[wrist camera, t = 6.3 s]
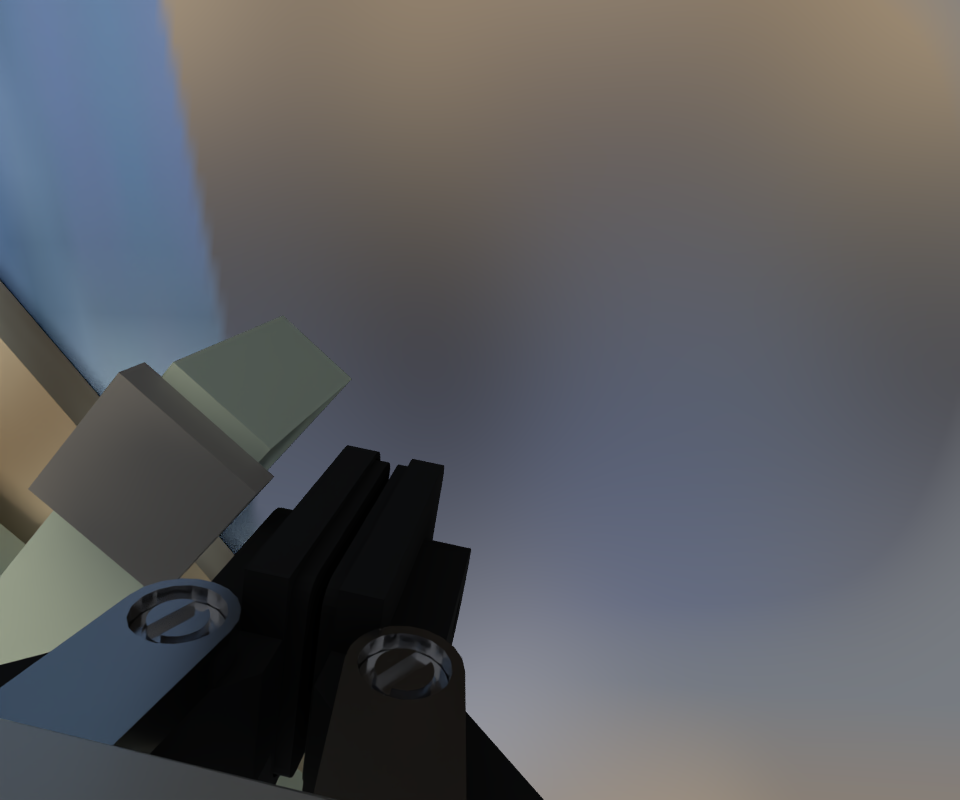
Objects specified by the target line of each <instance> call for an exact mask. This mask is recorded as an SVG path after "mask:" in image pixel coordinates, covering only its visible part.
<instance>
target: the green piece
mask: <svg viewBox="0 0 960 800" xmlns="http://www.w3.org/2000/svg"><path fill="white" fill-rule="evenodd" d="M350 380H351V378H350V377H349V376H348V375H347V374H346V373H345V372H344V371H343V370H341V369H340V368H339V367H338V366H337V365H336V364H335V363H334V362H333V361H332V360H331V359H330V358H328V357H327V356H326V355H325V354H324V353H323V352H322V351H321V350H320V349H319V348H318V347H316V346H315V345H314V344H313V343H312V342H311V341H310V340H309V339H308V338H307V337H306V336H304V335H303V334H302V333H301V332H300V331H299V330H298V329H297V328H296V327H295V326H294V325H293V324H292V323H290V322H289V321H288V320H287V319H286V318H285V317H284V316H281V317H278V318H276V319H274V320H272V321H269V322H267V323H264V324H262V325H260V326H257V327H255V328H253V329H250V330H248V331H245V332H243V333H241V334H238V335H236V336H234V337H231V338H229V339H227V340H224V341H222V342H219V343H217V344H215V345H212V346H210V347H208V348H205V349H203V350H201V351H198V352H196V353H194V354H191V355H189V356H187V357H184V358H182V359H179V360H177V361H175V362H173V363H172V364H171V366H170V367H169V368H168V369H167V371H166V372H165V373H164V374H163V375H162V377H161V376H160V375H159V374H158V373H156V372H155V371H154V370H153V369H152V368H151V367H150V366H149V365H147V364H146V363H145V362H144V363H142V364H139V365H137V366H134V367H131V368H129V369H126V370H124V371H121V372H119V373H118V374H117V376H116V377H115V378H114V379H113V381H112V382H111V383H110V384H109V386H108V387H107V388H106V390H105V391H104V392H103V393H102V395H101V396H100V397H99V399H98V400H97V401H96V402H95V404H94V405H93V406H92V408H91V409H90V410H89V411H88V413H87V414H86V415H85V416H84V418H83V419H82V420H81V422H80V423H79V424H78V425H77V427H76V428H75V429H74V431H73V432H72V433H71V434H70V436H69V437H68V438H67V439H66V441H65V442H64V443H63V445H62V446H61V447H60V448H59V450H58V451H57V452H56V454H55V455H54V456H53V457H52V459H51V460H50V461H49V463H48V464H47V465H46V466H45V468H44V469H43V470H42V471H41V473H40V474H39V475H38V477H37V478H36V479H35V480H34V482H33V483H32V484H31V486H30V487H29V488H28V490H30V491H31V492H32V493H33V494H34V495H36V496H37V497H38V498H39V499H40V500H42V501H43V502H44V503H45V504H46V505H48V506H49V507H50V508H51V509H52V510H53V512H52V513H51V514H50V515H49V517H48V518H47V519H46V520H45V521H44V523H43V524H42V525H41V526H40V528H39V529H38V530H37V531H36V533H35V534H34V535H33V536H32V538H31V539H30V540H29V541H28V542H27V544H24V543H23V542H22V541H21V540H20V539H18V538H17V537H16V536H15V535H14V534H12V533H11V532H10V531H9V530H8V529H6V528H5V527H4V526H3V525H1V524H0V665H2V664H5V663H9V662H13V661H17V660H21V659H25V658H29V657H33V656H37V655H40V654H44V653H48V652H50V651H52V650H53V649H55V648H56V647H57V646H59V645H60V644H62V643H63V642H64V641H66V640H67V639H68V638H70V637H71V636H73V635H74V634H75V633H77V632H78V631H80V630H81V629H82V628H84V627H85V626H86V625H88V624H89V623H91V622H92V621H93V620H95V619H96V618H98V617H99V616H100V615H102V614H103V613H104V612H106V611H107V610H109V609H110V608H111V607H113V606H114V605H116V604H117V603H118V602H120V601H121V600H123V599H124V598H125V597H127V596H128V595H130V594H132V593H133V592H135V591H137V590H139V589H141V588H142V587H144V586H148V585H151V584H154V583H157V582H160V581H165V580H173V579H180V578H181V576H182V575H183V574H184V573H185V572H186V571H187V570H188V569H189V568H190V567H191V566H192V565H193V564H194V562H195V561H196V560H197V559H198V558H199V557H200V556H201V555H202V554H203V553H204V552H205V551H206V550H207V548H208V547H209V546H210V545H211V544H212V543H213V542H214V541H215V540H216V539H217V538H218V537H219V536H220V534H221V533H222V532H223V531H224V530H225V529H226V528H227V527H228V526H229V525H230V524H231V523H232V522H233V520H234V519H235V518H236V517H237V516H238V515H239V514H240V513H241V512H242V511H243V510H244V509H245V507H246V506H247V505H248V504H249V503H250V502H251V501H252V500H253V499H254V498H255V497H256V496H257V495H258V493H259V492H260V491H261V490H262V489H263V488H264V487H265V486H266V485H267V484H268V483H269V481H271V479H272V478H273V477H274V476H273V475H272V474H271V473H269V472H268V469H269V468H270V467H271V466H272V465H273V464H274V463H275V462H276V461H277V460H278V459H279V457H280V456H281V455H282V454H283V453H284V452H285V451H286V450H287V449H288V448H289V447H290V446H291V444H292V443H293V442H294V441H295V440H296V439H297V438H298V437H299V435H301V433H302V432H303V431H304V430H305V429H306V428H307V427H308V426H309V425H310V424H311V423H312V422H313V421H314V419H315V418H316V417H317V416H318V415H319V414H320V413H321V412H322V411H323V410H324V409H325V407H326V406H327V405H328V404H329V403H330V402H331V401H332V400H333V399H334V398H335V397H336V396H337V394H338V393H339V392H340V391H341V390H342V389H343V388H344V387H345V386H346V385H347V384H348V382H349V381H350ZM276 785H279V786H283V787H287V788H291V789H295V790H299V791H302V787H303V780H302V772H301V771H299V770H298V769H297V770H296V772H295V774H294V776H293V777H292V778H288V777H284V776H280V777H279V779H278V781H277V783H276Z"/></svg>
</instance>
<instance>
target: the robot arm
mask: <svg viewBox="0 0 960 800" xmlns="http://www.w3.org/2000/svg"><path fill="white" fill-rule="evenodd" d="M389 473H390V463H388V462H384V461H380V452H377V451H372V450H367V449H363V448H358V447H353V446H348V445H347V446H346V447H345V448H344V449H343V450H342V452H341V453H340V454H339V455H338V457H337V458H336V459H335V460H334V462H333V463H332V464H331V465H330V466H329V467H328V469H327V470H326V471H325V472H324V473H323V475H322V476H321V477H320V478H319V480H318V481H317V482H316V483H315V484H314V485H313V487H312V488H311V489H310V490H309V492H308V493H307V494H306V495H305V496H304V497H303V499H302V500H301V501H300V502H299V504H298V505H297V506H296V507H295V508H294V510H290V509H285V508H277V509H276V510H274V511H273V512H272V513H271V515H270V516H269V517H268V518H267V519H266V520H265V521H264V522H263V524H262V525H261V526H260V527H259V528H258V529H257V530H256V531H255V533H254V534H253V535H252V536H251V537H250V538H249V539H248V540H247V542H246V543H245V544H244V545H243V546H242V547H241V548H240V549H239V551H238V552H237V553H236V554H235V555H234V556H233V557H232V559H231V560H230V561H229V562H228V563H227V564H226V565H225V566H224V568H223V569H222V570H221V571H220V572H219V573H218V574H217V575H216V577H215V578H214V579H213V580H212V581H211V582H210V581H206V580H201V579H184V578H180V579H173V580H165V581H160V582H157V583H154V584H151V585H148V586H144V587H142V588H141V589H139V590H137V591H135V592H133V593H132V594H130V595H128V596H127V597H125V598H124V599H123V600H121V601H120V602H118V603H117V604H116V605H114V606H113V607H111V608H110V609H109V610H107V611H106V612H104V613H103V614H102V615H100V616H99V617H98V618H96V619H95V620H93V621H92V622H91V623H89V624H88V625H86V626H85V627H84V628H82V629H81V630H80V631H78V632H77V633H75V634H74V635H73V636H71V637H70V638H68V639H67V640H66V641H64V642H63V643H62V644H60V645H59V646H57V647H56V648H55V649H53V650H52V651H50V652H48V653H44V654H40V655H37V656H33V657H29V658H25V659H21V660H17V661H13V662H9V663H5V664H2V665H0V800H543V798H542V797H540V795H539V794H538V793H537V792H536V791H535V789H534V788H533V787H532V786H531V785H530V784H529V783H528V781H527V780H526V779H525V778H524V777H523V776H522V775H521V774H520V772H519V771H518V770H517V769H516V768H515V767H514V766H513V764H512V763H511V762H510V761H509V760H508V759H507V758H506V757H505V755H504V754H503V753H502V752H501V751H500V750H499V749H498V747H497V746H496V745H495V744H494V743H493V742H492V741H491V740H490V738H488V736H487V735H486V734H485V733H484V732H483V731H482V730H481V728H480V727H479V726H478V725H477V724H476V723H475V721H474V720H473V719H472V718H471V717H470V716H469V715H468V713H467V712H466V708H465V669H464V665H463V660H462V658H461V656H460V655H459V653H458V652H457V651H456V649H455V648H454V647H453V646H452V642H453V638H454V633H455V629H456V624H457V620H458V615H459V610H460V606H461V601H462V596H463V591H464V585H465V580H466V574H467V570H468V565H469V559H470V553H471V549H470V548H465V547H460V546H456V545H451V544H447V543H443V542H437V541H433V533H434V528H435V522H436V516H437V510H438V504H439V498H440V492H441V487H442V481H443V474H444V465H439V464H434V463H429V462H425V461H420V460H415V459H412V460H411V462H410V463H409V465H408V466H403V465H398V466H397V467H396V469H395V470H394V472H393V474H392V475H391V477H390V479H389ZM304 753H305V756H304V764H303V773H302V780H303V787H302V791H299V790H295V789H291V788H287V787H283V786H279V785H276V783H277V781H278V779H279V777H280V776H284V777H288V778H292V777H293V776H294V774H295V772H296V770H297V768H298V766H299V764H300V762H301V760H302V757H303V755H304Z"/></svg>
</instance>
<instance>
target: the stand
mask: <svg viewBox="0 0 960 800" xmlns="http://www.w3.org/2000/svg"><path fill="white" fill-rule="evenodd" d="M98 399H99V396H98V394H97V393H96V392H95V391H94V390H93V389H92V387H91V386H90V385H89V384H88V383H87V382H86V380H85V379H84V378H83V377H82V376H81V375H80V373H79V372H78V371H77V370H76V369H75V368H74V366H73V365H72V364H71V363H70V362H69V360H68V359H67V358H66V357H65V356H64V355H63V353H62V352H61V351H60V350H59V349H58V348H57V346H56V345H55V344H54V343H53V342H52V341H51V339H50V338H49V337H48V336H47V335H46V334H45V332H44V331H43V330H42V329H41V328H40V326H39V325H38V324H37V323H36V322H35V321H34V319H33V318H32V317H31V316H30V315H29V314H28V312H27V311H26V310H25V309H24V308H23V307H22V305H21V304H20V303H19V302H18V301H17V300H16V298H15V297H14V296H13V295H12V294H11V293H10V291H9V290H8V289H7V288H6V287H5V285H4V284H3V283H2V282H1V281H0V524H1V525H3V526H4V527H5V528H6V529H8V530H9V531H10V532H11V533H12V534H14V535H15V536H16V537H17V538H18V539H20V540H21V541H22V542H23V543H24V544H27V542H28V541H29V540H30V539H31V538H32V536H33V535H34V534H35V533H36V531H37V530H38V529H39V528H40V526H41V525H42V524H43V523H44V521H45V520H46V519H47V518H48V517H49V515H50V514H51V513H52V512H53V510H52V509H51V508H50V507H49V506H48V505H46V504H45V503H44V502H43V501H42V500H40V499H39V498H38V497H37V496H36V495H34V494H33V493H32V492H31V491H30V490H28V488H29V487H30V486H31V484H32V483H33V482H34V480H35V479H36V478H37V477H38V475H39V474H40V473H41V471H42V470H43V469H44V468H45V466H46V465H47V464H48V463H49V461H50V460H51V459H52V457H53V456H54V455H55V454H56V452H57V451H58V450H59V448H60V447H61V446H62V445H63V443H64V442H65V441H66V439H67V438H68V437H69V436H70V434H71V433H72V432H73V431H74V429H75V428H76V427H77V425H78V424H79V423H80V422H81V420H82V419H83V418H84V416H85V415H86V414H87V413H88V411H89V410H90V409H91V408H92V406H93V405H94V404H95V402H96V401H97V400H98ZM233 556H234V554H233V553H232V551H231V550H230V549H229V548H228V547H227V546H226V544H225V543H224V542H223V541H222V540H221V539H220V537H218V538H217V539H216V540H215V541H214V542H213V543H212V544H211V545H210V546H209V547H208V548H207V550H206V551H205V552H204V553H203V554H202V555H201V556H200V557H199V558H198V559H197V560H196V561H195V562H194V564H193V565H192V566H191V567H190V568H189V569H188V570H187V571H186V572H185V573H184V574H183V575H182V576H181V578H184V579H201V580H206V581H210V582H211V581H212V580H213V579H214V578H215V577H216V575H217V574H218V573H219V572H220V571H221V570H222V569H223V568H224V566H225V565H226V564H227V563H228V562H229V561H230V560H231V559H232V557H233ZM304 756H305V753H304V755H303V757H302V760H301V762H300V764H299V766H298V768H297V769H298V770H299V771H301V772H302V773H303V764H304Z"/></svg>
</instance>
